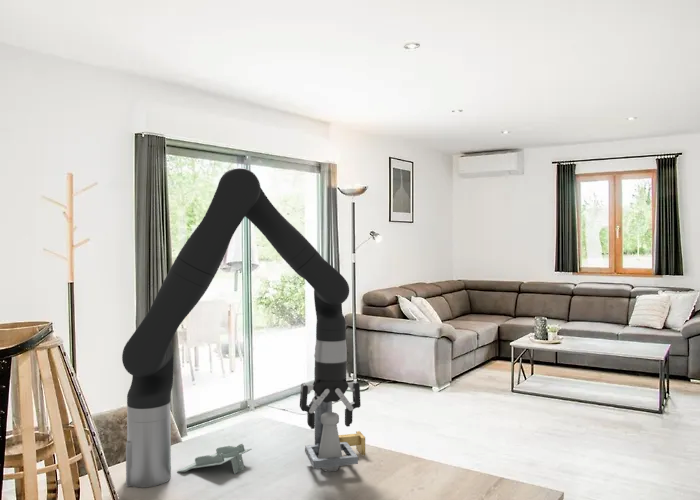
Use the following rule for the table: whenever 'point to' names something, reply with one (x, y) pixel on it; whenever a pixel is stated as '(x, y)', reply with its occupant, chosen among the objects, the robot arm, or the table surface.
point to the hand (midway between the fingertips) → (330, 426)
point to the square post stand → (344, 440)
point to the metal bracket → (221, 458)
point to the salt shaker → (330, 439)
